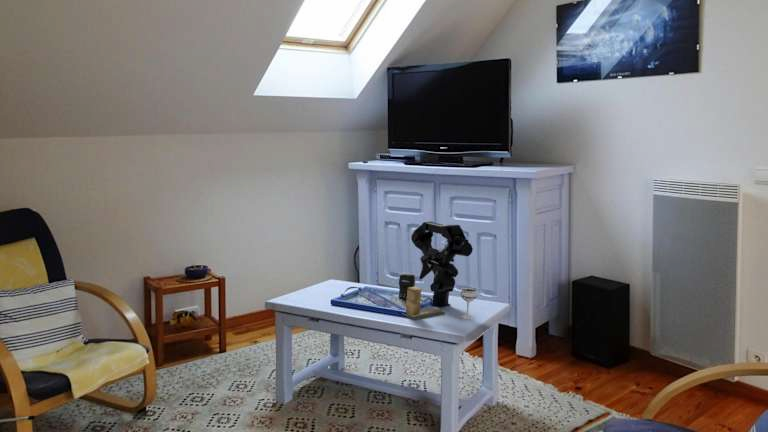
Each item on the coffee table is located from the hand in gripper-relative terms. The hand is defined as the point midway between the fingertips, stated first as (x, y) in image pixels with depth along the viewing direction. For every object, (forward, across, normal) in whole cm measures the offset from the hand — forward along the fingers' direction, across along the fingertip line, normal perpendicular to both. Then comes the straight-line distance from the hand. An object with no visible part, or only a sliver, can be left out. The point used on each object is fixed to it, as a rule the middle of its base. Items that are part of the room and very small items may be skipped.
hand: (427, 281), depth 278 cm
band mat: (+11, -1, +8) cm, 14 cm away
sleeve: (+14, 0, +4) cm, 15 cm away
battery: (+6, -20, +14) cm, 25 cm away
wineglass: (+1, +12, +18) cm, 22 cm away
